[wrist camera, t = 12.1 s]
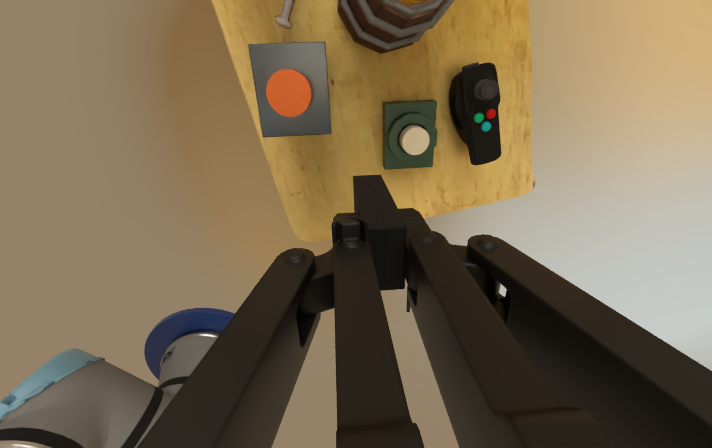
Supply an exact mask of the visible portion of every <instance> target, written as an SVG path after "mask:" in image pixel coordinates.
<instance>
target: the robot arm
mask: <svg viewBox="0 0 712 448" xmlns="http://www.w3.org/2000/svg"><path fill="white" fill-rule="evenodd" d="M353 185H354V210H355V213H338V214H337V215H336V216H335V217H334V218H333V222H332V224H331V225H332V238H333V248H332V249H331V250H330V251H328V252H327V253H325V254H322V255H319V256H314V254H313V252H312V251H310V250H308V249H302V248H293V249H289V250H287V251H285V252H282V253H281V254H280V255H279V256H277V258H276V259H275V260H274V262H273V263H272V264H271V266H270V267H269V268H268V270H267V271H266V273H265V274H264V275H263V277H262V278H261V279H260V281H259V282H258V283H257V285H256V286H255V288H254V289H253V290H252V292H251V293H250V295H249V296H248V297H247V298H246V300H245V301H244V303H243V304H242V305H241V307H240V308H239V309H238V311H237V312H236V313H235V315H234V316H233V317H232V319H231V320H230V321H229V323H228V324H227V326H226V327H225V328H224V330H223V331H222V332H221V331H217V330H210V329H198V330H192V331H188V332H185V333H183V334H181V335H179V336H177V337H176V338H175V339H174V340H173V341H172V342H171V343H170V345H169V346H168V348H167V350H166V352H165V353H164V356H163V358H162V361H161V364H162V365H160V367H161V372H160V378H159V384H158V388H157V387H155V386H153V385H152V384H149V383H148V382H145V381H143V380H142V379H140V378H138V377H135V376H134V375H132V374H130V373H127V372H126V371H124V370H122V369H120V368H117V367H116V366H114V365H112V364H110V363H108V362H106V361H105V359H104V358H102V357H96V356H94V355H91V354H89V353H87V352H85V351H82V350H79V349H70V350H66V351H64V352H61V353H59V354H58V355H56V356H55V357H53V358H52V359H50V360H49V361H48V362H46V363H45V364H44V365H42V366H41V367H40V368H39V369H37V370H36V371H35V372H34V373H32V374H31V375H30V376H29V377H28V378H26V379H25V380H24V381H23V382H22V383H21V384H19V385H18V386H17V387H16V388H15V389H14V390H13V391H12V392H11V393H10V394H9V395H8V396H7V397H5V398H4V399H3V400H2V401H1V402H0V448H271V447H272V445H273V442H274V439H275V437H276V434H277V431H278V429H279V426H280V423H281V421H282V418H283V415H284V413H285V410H286V407H287V405H288V402H289V400H290V397H291V394H292V392H293V389H294V386H295V384H296V381H297V378H298V376H299V373H300V371H301V368H302V365H303V362H304V360H305V357H306V355H307V352H308V349H309V347H310V344H311V341H312V339H313V336H314V334H315V331H316V328H317V326H318V323H319V320H320V315H321V313H320V312H323V311H326V310H329V309H332V308H335V344H336V345H335V348H336V387H337V431H336V448H424V445H423V441H422V437H421V434H420V431H419V428H418V426H417V424H416V423H412V420H411V418H410V414H409V410H408V406H407V402H406V398H405V394H404V390H403V385H402V381H401V377H400V372H399V368H398V364H397V360H396V355H395V351H394V347H393V343H392V339H391V334H390V330H389V326H388V322H387V318H386V313H385V309H384V305H383V301H382V296H381V292H380V291H381V290H395V289H404V288H405V279H406V281H407V283H408V286H407V312H409V311H410V307H411V308H412V311H413V314H414V317H415V320H416V323H417V326H418V329H419V332H420V335H421V338H422V340H423V343H424V346H425V349H426V352H427V355H428V358H429V361H430V363H431V367H432V369H433V372H434V375H435V378H436V381H437V384H438V387H439V390H440V393H441V396H442V399H443V401H444V404H445V407H446V410H447V413H448V416H449V419H450V422H451V424H452V428H453V430H454V433H455V436H456V439H457V442H458V445H459V448H712V371H711V370H709V369H707V368H706V367H704V366H702V365H701V364H699V363H698V362H696V361H695V360H693V359H691V358H690V357H688V356H687V355H685V354H683V353H682V352H680V351H679V350H677V349H675V348H674V347H672V346H671V345H669V344H667V343H666V342H664V341H663V340H661V339H659V338H658V337H656V336H654V335H653V334H651V333H650V332H648V331H647V330H645V329H643V328H642V327H640V326H639V325H637V324H636V323H634V322H632V321H631V320H629V319H627V318H626V317H624V316H623V315H621V314H619V313H618V312H616V311H615V310H613V309H612V308H610V307H608V306H607V305H605V304H604V303H602V302H600V301H599V300H597V299H596V298H594V297H593V296H591V295H589V294H588V293H586V292H585V291H583V290H581V289H580V288H578V287H577V286H575V285H573V284H572V283H570V282H569V281H567V280H565V279H564V278H562V277H561V276H559V275H557V274H556V273H554V272H553V271H551V270H549V269H548V268H546V267H545V266H543V265H541V264H540V263H538V262H537V261H535V260H533V259H532V258H530V257H529V256H527V255H526V254H524V253H522V252H521V251H519V250H518V249H516V248H514V247H513V246H511V245H510V244H508V243H506V242H505V241H503V240H501V239H499V238H497V237H493V236H491V235H476V236H473V237H471V238H469V240H468V244H467V246H459V245H452V244H449V243H448V241H447V240H446V238H445V237H444V236H443V235H442V234H440V233H438V232H435V231H431V229H430V228H429V226H428V225H427V224H426V222H425V220H424V219H423V218H422V216H421V214H420V212H418V211H416V210H415V209H413V208H406V209H398V208H397V206H396V204H395V202H394V200H393V198H392V196H391V194H390V192H389V190H388V188H387V186H386V184H385V183H384V181H383V179H382V177H381V175H366V176H353ZM500 284H502V285H503V286H504V287H505V288H506V289H507V291H506V296H505V297H503V296H502V295H501V294H499V289H500Z"/></svg>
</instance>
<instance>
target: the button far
mask: <svg viewBox="0 0 712 448" xmlns="http://www.w3.org/2000/svg"><path fill="white" fill-rule="evenodd" d="M429 141H430V139H429V135H428V133H427V131H426V130H425V129H423V128H421V127H420V126H417V125H410V126H407V127H406V128H405V129H403V131H402V132H401V134H400V138H399V142H400V145H401V147H402V148H403V149H404V150H405V151H406V152H407V153H408V154H410V155H419V154H421V153H423V152H424V151H425V150H426V149H427V147H428V145H429Z"/></svg>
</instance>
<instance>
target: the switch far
mask: <svg viewBox="0 0 712 448" xmlns="http://www.w3.org/2000/svg"><path fill="white" fill-rule="evenodd" d="M436 107H437V101H433V100H423V101H401V102H383V167H384V168H385V170H386V169H404V168H422V167H432V166H433V151H434V147H435V146H436V142H437V130H436V128H435V122H436ZM410 125H417V126H420V127H421V128H423V129H425V130H426V131H427V133H428V135H429V139H430V141H429V145H428V147H427V149H426V150H425V151H424V152H423V153H421V154H419V155H410V154H408V153H407V152H406V151H405V150H404V149H403V148H402V147H401V145H400V142H399V138H400V134H401V132H402V131H403V129H405V128H406V127H407V126H410Z"/></svg>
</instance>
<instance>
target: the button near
mask: <svg viewBox="0 0 712 448" xmlns="http://www.w3.org/2000/svg"><path fill="white" fill-rule="evenodd" d="M266 95H267V99H268V102H269V104H270V105H271V107H272V108H273V109H274V110H275V111H276V112H277V113H279V114H280V115H283V116H286V117H295V116H298V115H300V114H302V113H303V112H304V111H305V110H306V109H307V108H308V106H309V105H310V102H311V99H312V89H311V85H310V83H309V81H308V80H307V78H306V77H305V76H304V75H303V74H301V73H300V72H298V71H296V70H291V69H283V70H279V71H277V72H275V73H274V74H273V75H272V76H271V77H270V79H269V81H268V83H267V87H266Z"/></svg>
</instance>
